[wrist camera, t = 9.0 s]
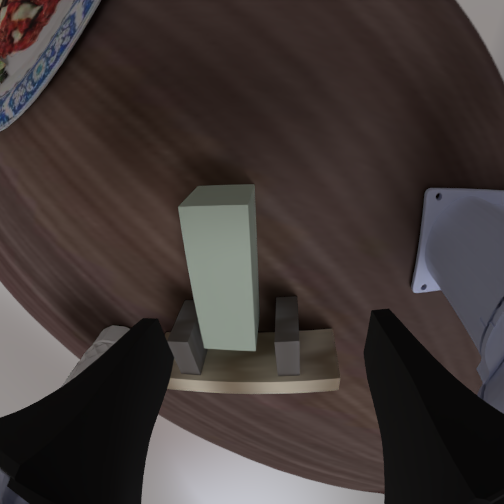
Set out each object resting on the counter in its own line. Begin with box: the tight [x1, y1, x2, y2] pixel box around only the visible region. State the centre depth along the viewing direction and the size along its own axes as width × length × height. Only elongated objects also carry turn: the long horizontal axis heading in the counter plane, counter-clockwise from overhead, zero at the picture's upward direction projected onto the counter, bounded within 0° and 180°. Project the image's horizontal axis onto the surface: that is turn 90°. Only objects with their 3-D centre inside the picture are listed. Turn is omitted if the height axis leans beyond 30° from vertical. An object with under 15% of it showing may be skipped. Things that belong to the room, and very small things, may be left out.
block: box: [178, 184, 260, 351], centre depth 18 cm, size 4×10×4 cm, turn 2°
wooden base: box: [165, 296, 340, 394], centre depth 20 cm, size 14×5×5 cm, turn 97°
